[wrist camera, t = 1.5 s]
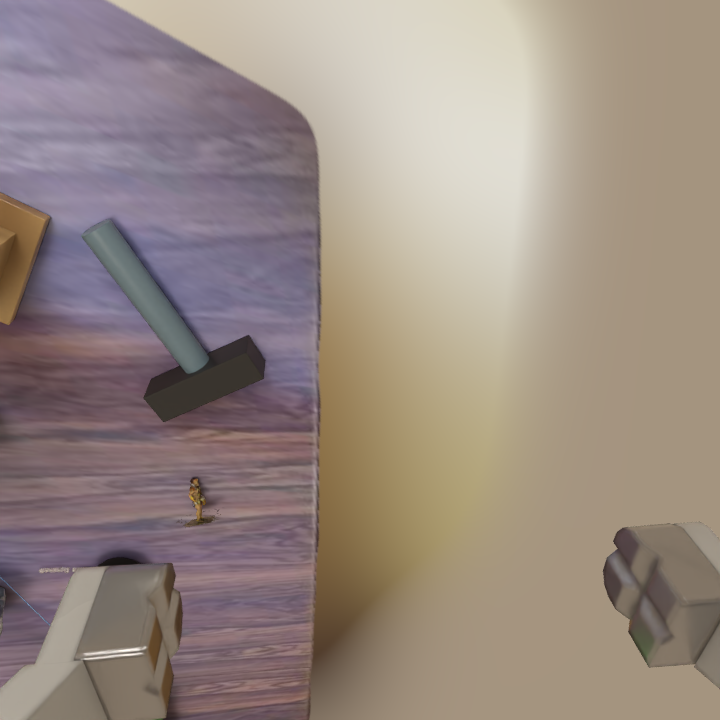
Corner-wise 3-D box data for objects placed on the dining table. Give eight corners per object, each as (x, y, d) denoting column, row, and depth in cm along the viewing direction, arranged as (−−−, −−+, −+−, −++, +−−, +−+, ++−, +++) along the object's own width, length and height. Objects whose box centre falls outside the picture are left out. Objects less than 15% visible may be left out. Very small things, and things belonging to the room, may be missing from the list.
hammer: (45, 249, 41) (29, 264, 39) (157, 193, 40) (147, 205, 38) (170, 402, 50) (163, 422, 48) (265, 360, 49) (263, 378, 46)
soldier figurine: (205, 522, 54) (197, 478, 54) (192, 525, 54) (184, 481, 54) (211, 517, 56) (203, 475, 56) (199, 519, 56) (191, 477, 56)
